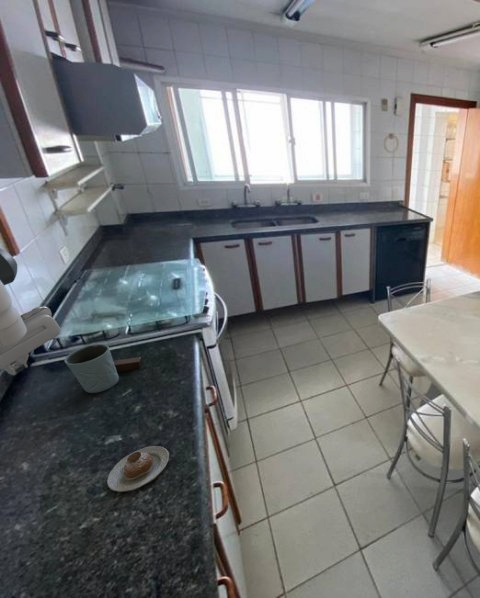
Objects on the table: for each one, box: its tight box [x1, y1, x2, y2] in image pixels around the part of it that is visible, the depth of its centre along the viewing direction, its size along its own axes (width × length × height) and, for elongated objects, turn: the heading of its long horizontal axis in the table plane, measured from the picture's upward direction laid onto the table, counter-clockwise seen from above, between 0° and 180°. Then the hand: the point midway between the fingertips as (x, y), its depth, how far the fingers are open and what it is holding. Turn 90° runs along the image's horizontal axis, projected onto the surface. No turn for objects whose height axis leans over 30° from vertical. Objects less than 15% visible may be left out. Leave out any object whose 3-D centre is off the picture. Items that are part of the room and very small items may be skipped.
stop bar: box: [113, 356, 143, 373], centre depth 110 cm, size 16×3×3 cm, turn 112°
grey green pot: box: [64, 343, 120, 394], centre depth 102 cm, size 10×10×12 cm
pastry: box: [106, 445, 170, 493], centre depth 78 cm, size 12×12×5 cm
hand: (18, 370), depth 78 cm, fingers closed
